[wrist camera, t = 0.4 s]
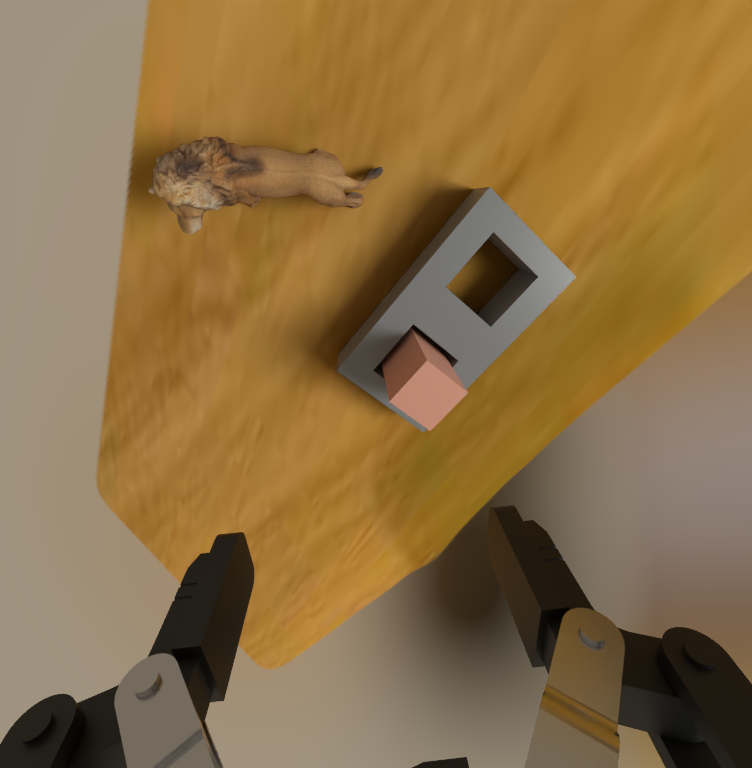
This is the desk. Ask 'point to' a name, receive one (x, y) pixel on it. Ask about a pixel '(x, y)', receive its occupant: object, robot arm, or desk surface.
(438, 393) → the peg
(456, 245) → the pocket board
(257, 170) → the lion figurine
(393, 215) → the desk surface
